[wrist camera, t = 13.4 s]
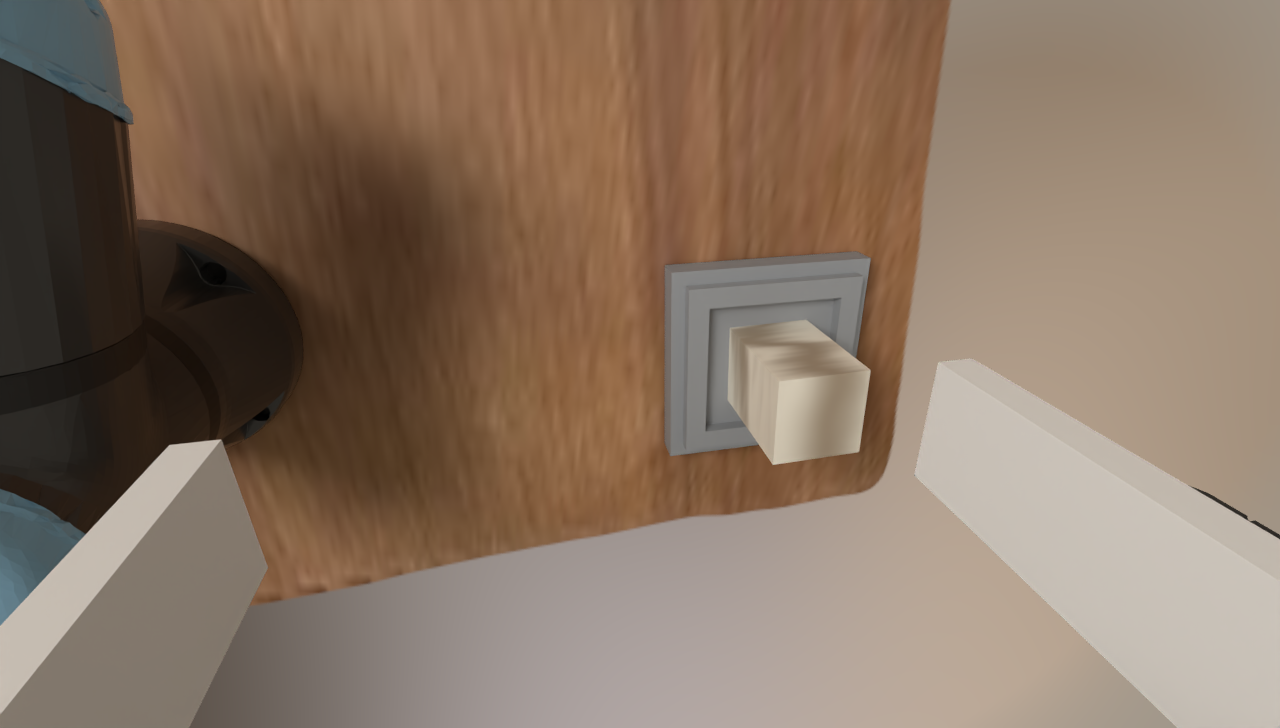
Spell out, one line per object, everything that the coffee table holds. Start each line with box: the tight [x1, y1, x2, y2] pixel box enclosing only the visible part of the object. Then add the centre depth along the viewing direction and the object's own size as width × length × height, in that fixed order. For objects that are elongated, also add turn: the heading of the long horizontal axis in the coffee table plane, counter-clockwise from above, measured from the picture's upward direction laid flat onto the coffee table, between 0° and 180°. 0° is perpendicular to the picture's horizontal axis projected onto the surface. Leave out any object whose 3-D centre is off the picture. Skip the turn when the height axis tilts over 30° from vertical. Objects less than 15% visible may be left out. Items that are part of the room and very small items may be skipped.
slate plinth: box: [665, 251, 871, 456], centre depth 47 cm, size 15×15×3 cm
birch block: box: [728, 320, 871, 465], centre depth 42 cm, size 6×6×9 cm
